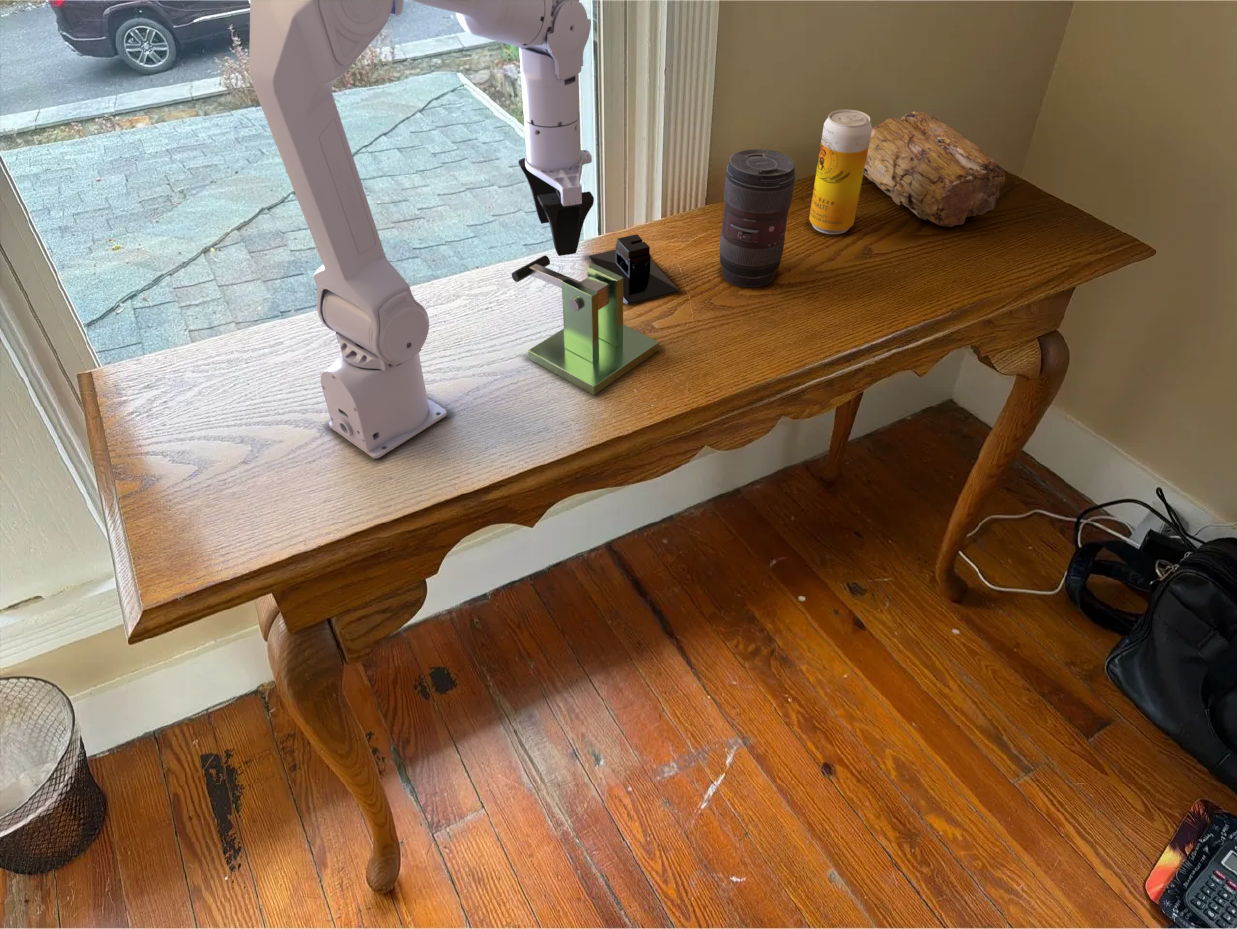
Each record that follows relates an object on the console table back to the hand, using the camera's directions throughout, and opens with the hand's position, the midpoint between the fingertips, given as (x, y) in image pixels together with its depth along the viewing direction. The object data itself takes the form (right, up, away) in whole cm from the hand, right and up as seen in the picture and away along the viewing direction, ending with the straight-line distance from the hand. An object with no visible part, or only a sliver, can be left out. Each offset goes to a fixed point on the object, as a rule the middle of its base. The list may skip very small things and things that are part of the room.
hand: (557, 236), depth 101 cm
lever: (+1, -6, -2) cm, 7 cm away
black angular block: (+9, -2, +14) cm, 16 cm away
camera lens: (+24, -1, +14) cm, 27 cm away
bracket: (+4, -13, +1) cm, 14 cm away
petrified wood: (+51, +12, +29) cm, 59 cm away
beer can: (+36, +7, +23) cm, 44 cm away
